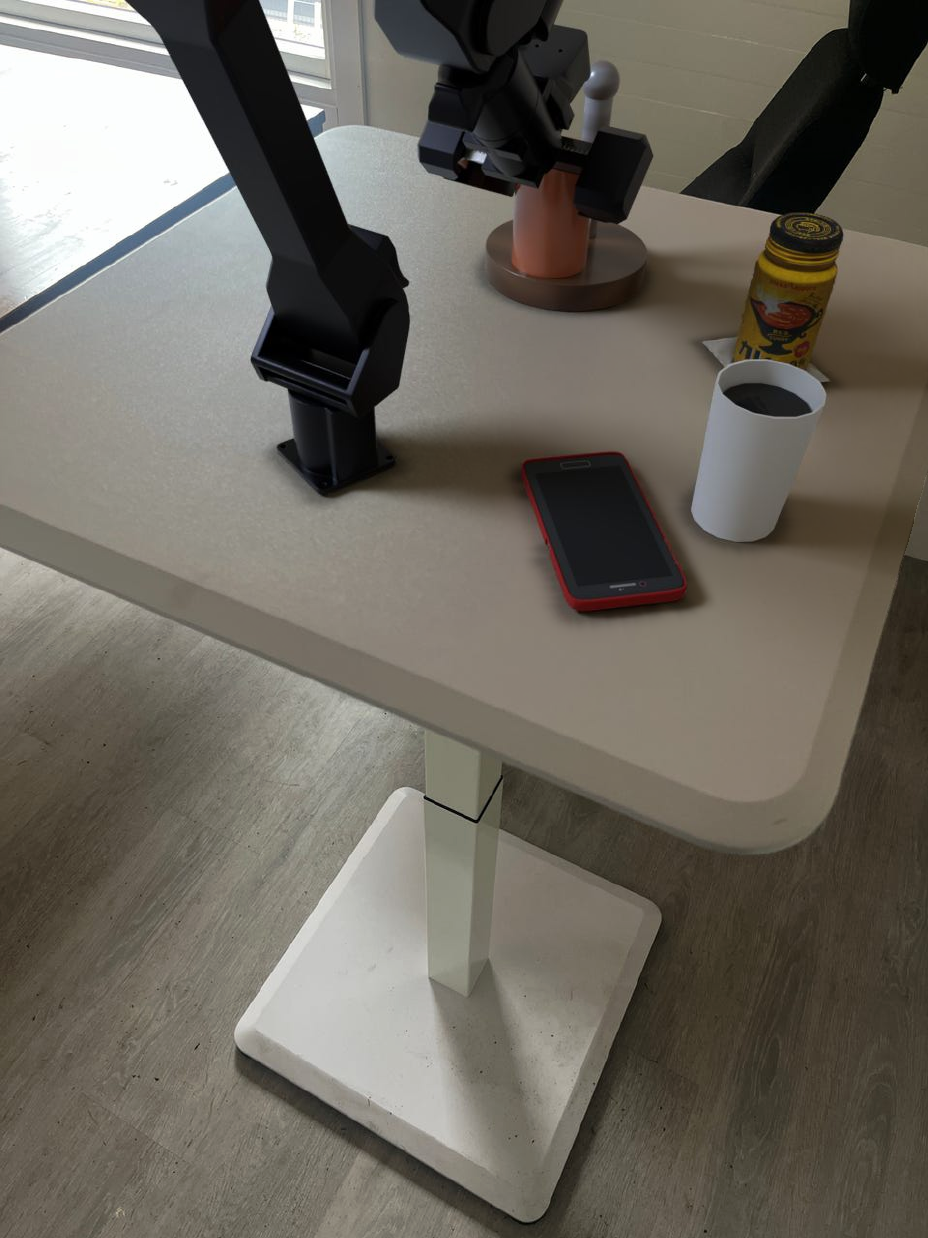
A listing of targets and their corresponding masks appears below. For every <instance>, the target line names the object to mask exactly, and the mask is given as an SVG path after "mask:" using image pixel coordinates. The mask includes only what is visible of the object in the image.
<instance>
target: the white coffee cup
mask: <svg viewBox="0 0 928 1238" xmlns="http://www.w3.org/2000/svg"><path fill="white" fill-rule="evenodd" d="M826 398H827V392H826V390H825V388H824V386H823V385H822V382H820V381H818V380H817V379H816V378H814V377H813V376H812V375H810V374H809V373H808V372H806V371H804V370H802V369H799V368H797V367H795V366H792V365H790V364H787V363H782V362H777V361H772V360H743V361H739V362H736V363H732V364H729V365H728V366H726V367H723V368H722V369H721V370H719V371H718V374H717V377H716V380H715V383H714V388H713V394H712V399H711V405H710V409H709V415H708V418H707V425H706V428H705V429H706V430H705V435H704V439H703V440H704V441H703V444H702V445H703V446H702V451H701V456H700V460H699V461H700V462H699V466H698V471H697V477H696V481H695V487H694V492H693V496H692V503H691V507H690V511H691V514H692V518H693V520H694V522H695V523H696V524H697V525H698V526H699V527H700V528H701V529H702V530H703V531H704V532H706V533H708V534H710V535H712V536H714V537H716V538H717V539H722V540H725V541H730V542H735V543H744V542H745V543H750V542H751V543H753V542H755V541H758V540H762V539H765V538H767V537H768V536H769V535H770V534H771V533H772V532H773V531H774V530H775V527H776V525H777V523H778V520H779V518H780V516H781V514H782V513H781V512H782V511H783V508H784V505H785V503H786V501H787V498H788V496H789V493H790V491H791V489H792V486H793V483H794V481H795V478H796V476H797V473H798V471H799V469H800V466H801V465H802V461H803V459H804V457H805V455H806V453H807V449H808V447H809V445H810V442H811V439H812V437H813V434H814V432H815V430H816V427H817V424H818V422H819V421H820V416H821V415H822V412H823V410H824V407H825V404H826V400H827V399H826Z"/></svg>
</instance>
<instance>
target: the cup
mask: <svg viewBox="0 0 928 1238" xmlns="http://www.w3.org/2000/svg"><path fill="white" fill-rule="evenodd" d="M568 137H569V138H573V139H577V140H581V138H576V137H572V136H568ZM582 141H583V140H582ZM570 151H571V150H570ZM579 153H580V152H579ZM578 177H579V176H578V175H574V174H570V173H566V172H562V171H558V170H554V169H551V170H550V171H549V172H548V173H547V174H545V175H544V176H543V179H542V181H541V184H540V186H539V189H537V188H533V187H530V186H526V185H522V184H518V183H516V184H515V193H514V202H513V219H512V220H513V234H512V251H511V262H512V264H513V265H514V267H516V268H517V269H518V270H519V271H521V272H523V273H526V274H528V275H531V276H535V277H541V278H564V277H569V276H572V275H575V274H577V273H579V272H581V271H582V270H583V269H584V267H585V266H586V260H587V251H588V243H589V235H590V226H591V219H590V218H586V217H582V216H579V215H578V212H579V211H578V210H577V209H576V207H575V205H574V204H573V201H574V191H575V185H576V182H577V180H578Z"/></svg>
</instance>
